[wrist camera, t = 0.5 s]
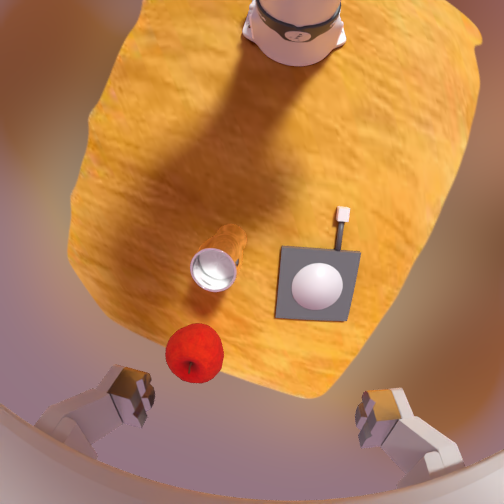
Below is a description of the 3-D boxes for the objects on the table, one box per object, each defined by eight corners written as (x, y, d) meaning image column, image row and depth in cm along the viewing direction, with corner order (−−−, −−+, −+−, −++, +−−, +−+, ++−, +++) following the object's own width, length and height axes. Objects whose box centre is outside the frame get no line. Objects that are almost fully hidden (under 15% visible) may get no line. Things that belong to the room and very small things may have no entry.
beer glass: (218, 260, 54) (197, 296, 40) (208, 226, 52) (182, 252, 37) (253, 252, 52) (243, 288, 38) (244, 217, 50) (230, 241, 36)
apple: (177, 345, 62) (157, 383, 49) (180, 304, 58) (157, 340, 45) (225, 357, 62) (214, 399, 49) (233, 318, 58) (221, 358, 45)
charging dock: (285, 201, 49) (285, 203, 47) (365, 209, 48) (368, 210, 46) (275, 315, 56) (275, 319, 55) (345, 318, 55) (347, 322, 54)
